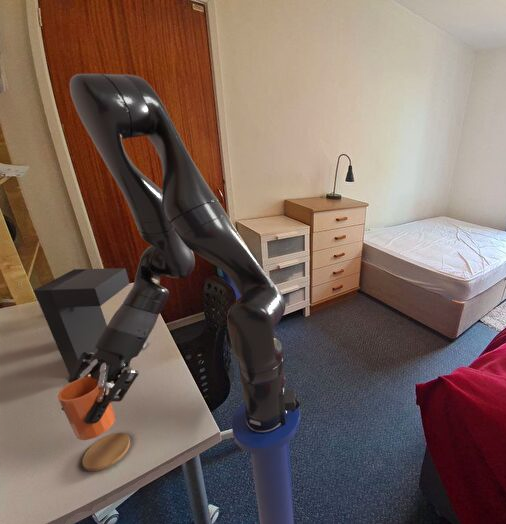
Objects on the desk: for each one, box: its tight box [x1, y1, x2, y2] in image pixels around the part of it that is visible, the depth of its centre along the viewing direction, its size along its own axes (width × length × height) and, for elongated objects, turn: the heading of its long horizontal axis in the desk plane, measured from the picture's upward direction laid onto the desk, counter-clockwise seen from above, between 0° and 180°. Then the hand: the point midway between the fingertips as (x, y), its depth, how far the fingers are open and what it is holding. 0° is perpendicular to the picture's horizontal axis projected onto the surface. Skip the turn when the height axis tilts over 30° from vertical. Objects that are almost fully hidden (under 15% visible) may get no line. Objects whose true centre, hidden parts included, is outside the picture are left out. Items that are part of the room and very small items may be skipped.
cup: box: [57, 376, 116, 441], centre depth 54 cm, size 6×6×10 cm
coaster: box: [81, 432, 131, 472], centre depth 58 cm, size 8×8×1 cm
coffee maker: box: [33, 267, 148, 377], centre depth 79 cm, size 13×13×27 cm
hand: (79, 416), depth 53 cm, fingers closed on cup, 6 cm apart
